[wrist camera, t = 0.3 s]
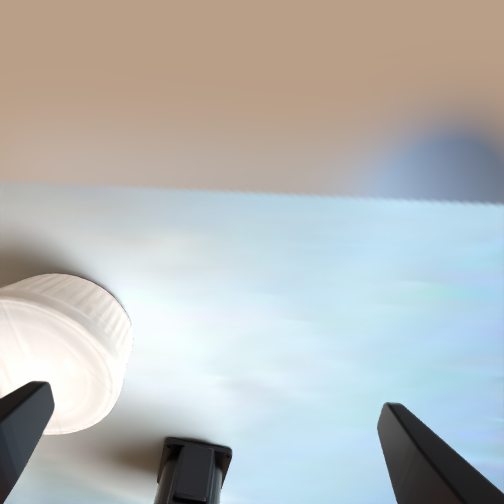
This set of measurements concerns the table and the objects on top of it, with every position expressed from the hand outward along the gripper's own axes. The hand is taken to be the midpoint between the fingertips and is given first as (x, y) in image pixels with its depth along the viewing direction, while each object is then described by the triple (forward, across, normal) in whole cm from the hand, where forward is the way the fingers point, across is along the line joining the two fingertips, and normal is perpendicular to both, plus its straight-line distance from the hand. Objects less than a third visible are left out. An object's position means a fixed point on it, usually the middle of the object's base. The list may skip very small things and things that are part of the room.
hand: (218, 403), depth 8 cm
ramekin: (+14, +13, +8) cm, 20 cm away
